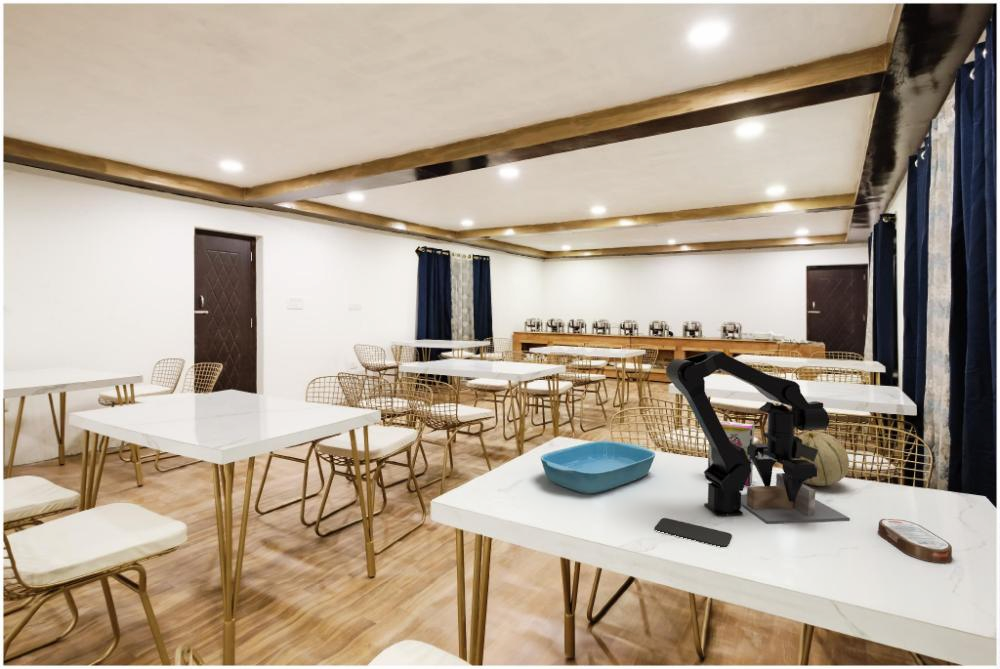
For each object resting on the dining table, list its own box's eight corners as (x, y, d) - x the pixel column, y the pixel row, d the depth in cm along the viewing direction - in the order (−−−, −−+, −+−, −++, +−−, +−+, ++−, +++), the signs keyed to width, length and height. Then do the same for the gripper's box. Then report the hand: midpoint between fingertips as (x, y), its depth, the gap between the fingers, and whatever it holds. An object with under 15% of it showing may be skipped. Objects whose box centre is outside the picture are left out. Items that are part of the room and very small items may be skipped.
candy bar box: (707, 479, 145) (708, 422, 144) (710, 474, 149) (711, 419, 148) (750, 487, 139) (752, 427, 138) (752, 481, 143) (754, 423, 142)
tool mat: (767, 523, 115) (767, 521, 115) (729, 497, 131) (729, 494, 131) (849, 520, 117) (849, 517, 117) (802, 494, 133) (802, 492, 133)
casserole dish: (606, 456, 167) (607, 435, 167) (668, 474, 150) (668, 450, 150) (525, 482, 143) (525, 457, 143) (587, 506, 126) (587, 477, 126)
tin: (916, 561, 98) (963, 567, 97) (918, 545, 98) (966, 551, 97) (868, 528, 113) (909, 532, 112) (870, 514, 113) (910, 518, 112)
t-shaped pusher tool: (765, 517, 117) (766, 491, 117) (736, 497, 129) (737, 474, 129) (814, 515, 118) (815, 490, 118) (781, 496, 130) (782, 473, 130)
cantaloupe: (851, 483, 141) (854, 430, 140) (843, 498, 130) (845, 440, 130) (791, 472, 151) (793, 422, 150) (779, 485, 140) (780, 431, 139)
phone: (726, 547, 103) (652, 528, 112) (726, 551, 103) (652, 532, 112) (733, 533, 109) (662, 516, 118) (732, 537, 110) (662, 520, 118)
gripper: (841, 439, 114) (838, 508, 115) (787, 421, 133) (785, 479, 134) (794, 441, 113) (792, 509, 114) (746, 422, 132) (745, 481, 133)
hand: (779, 494), depth 124 cm, fingers open, 9 cm apart
